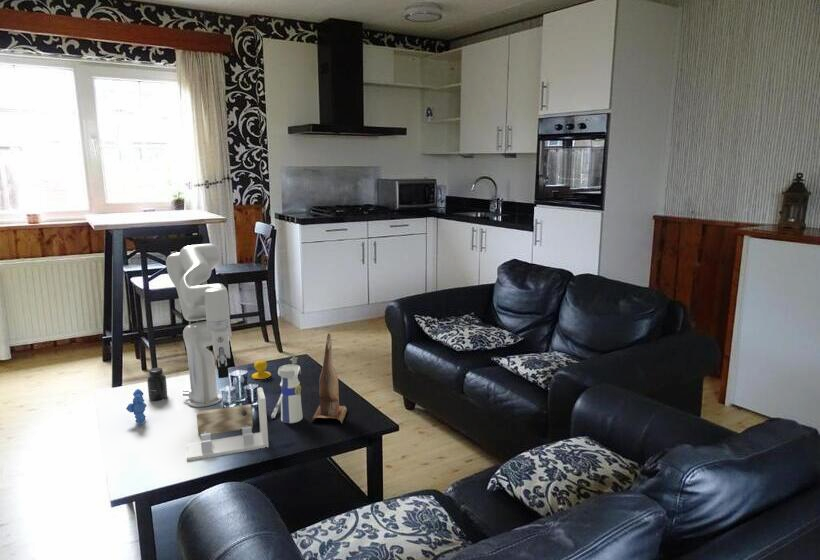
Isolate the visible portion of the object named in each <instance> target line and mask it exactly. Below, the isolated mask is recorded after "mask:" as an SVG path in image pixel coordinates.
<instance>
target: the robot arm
mask: <svg viewBox="0 0 820 560" xmlns="http://www.w3.org/2000/svg"><path fill="white" fill-rule="evenodd" d="M221 255H222V254H221V251H220V249H219V247H218V246H217V245H216V244H214V243H200V244H198V243H197V244H191V245H186V246H183V247H182V248H181V249H180V251H179V252H175V253H172V254H169V255H168V256H167V257H166V260H165V267H166V271H167V274H168V277H169V279H170V280H171V282H172V283H173V285H174V287H175V289H176V292H177V295H178V301H179V305H180V308H181V309H180V310H181V313H182V315H183V318H184V320H186V321H188V322H192V323H190V324H188V325H186V326H185V327H184V329H183V331H182V337H183V341H184V344H185V348H186V354H187V361H188V362H187V364H188V372H189V373H188V374H189V383H190V384H189V385H190V389H189V388H184V389H183V391H182V396H183V397H188V399H187V404H188V405H189V406H190V407H194V408H202V407H203V408H205V407H210V406H214V405H216V404H218V403H219V402H221V401H222V399H221V396H222V394H221V393H219V392H218V385H217V377H218V379H224V378H229V366H228V362H227V359H231V350H230V349H231V348H230V341H231V339H232V333H233V332H232V328H231V319H230V307H229V306H230V305H229V294H228V289H227V287H226V286H225V285H224V284H223V283H217V282H216V283H208V284H207V283H206V284H203V283H205V282H206V281H208V280H209V279H210V277H211V275H212V270H214V269H215V268H216V267H218V266H219V265H220V263H221V259H222V258H221V257H222V256H221ZM203 320H205V321H203ZM196 321H197V322H196ZM210 346H212V349H213V352H211V350H210V349H208V348H207V347H210ZM215 365H216V366H215ZM216 370H217V374H216ZM216 375H217V377H216Z"/></svg>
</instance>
